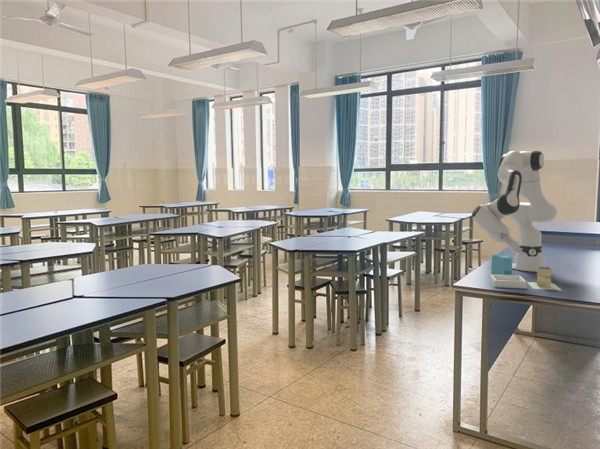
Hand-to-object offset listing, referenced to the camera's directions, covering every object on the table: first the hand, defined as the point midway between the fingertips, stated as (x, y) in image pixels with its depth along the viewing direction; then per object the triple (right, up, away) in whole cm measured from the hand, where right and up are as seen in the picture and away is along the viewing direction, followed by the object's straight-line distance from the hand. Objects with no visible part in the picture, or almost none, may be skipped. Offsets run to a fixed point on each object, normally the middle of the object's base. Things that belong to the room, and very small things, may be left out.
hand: (520, 252), depth 211 cm
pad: (+10, -17, -1) cm, 20 cm away
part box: (+10, -16, -1) cm, 19 cm away
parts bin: (-5, -17, +3) cm, 18 cm away
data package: (0, -15, +21) cm, 26 cm away
